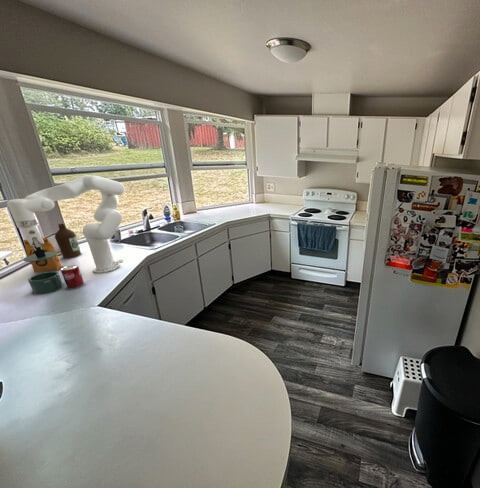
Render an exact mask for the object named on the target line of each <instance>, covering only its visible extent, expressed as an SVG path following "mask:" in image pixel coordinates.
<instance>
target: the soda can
mask: <svg viewBox="0 0 480 488" xmlns="http://www.w3.org/2000/svg"><path fill="white" fill-rule="evenodd" d="M60 273H61V275H62V278H63V280H64V283H65V286H66V288H67V289H70V290H73V289H74V290H75V289H78V288H81V287H82V286H84V285H85V281H84V278H83V276H82V273H81V270H80V267H79V265H77V264H70V265H67V266H62V267H61V268H60Z"/></svg>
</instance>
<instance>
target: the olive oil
mask: <svg viewBox="0 0 480 488" xmlns="http://www.w3.org/2000/svg"><path fill="white" fill-rule="evenodd" d="M57 225H58V228H59V229H58V230H57V232H55V235H54V239H55V241H56V244H57V245H58V248H59V250H60V252H61V255H62V257H63V258H64V259H73V258H76V257H80V256H81V255H82V252H81V247H80V245H79V241H78V238H77V234H76V233H75V232H74V231H73V230H71V229H70V228H67V226H66V224H65V222H59V223H57Z"/></svg>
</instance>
